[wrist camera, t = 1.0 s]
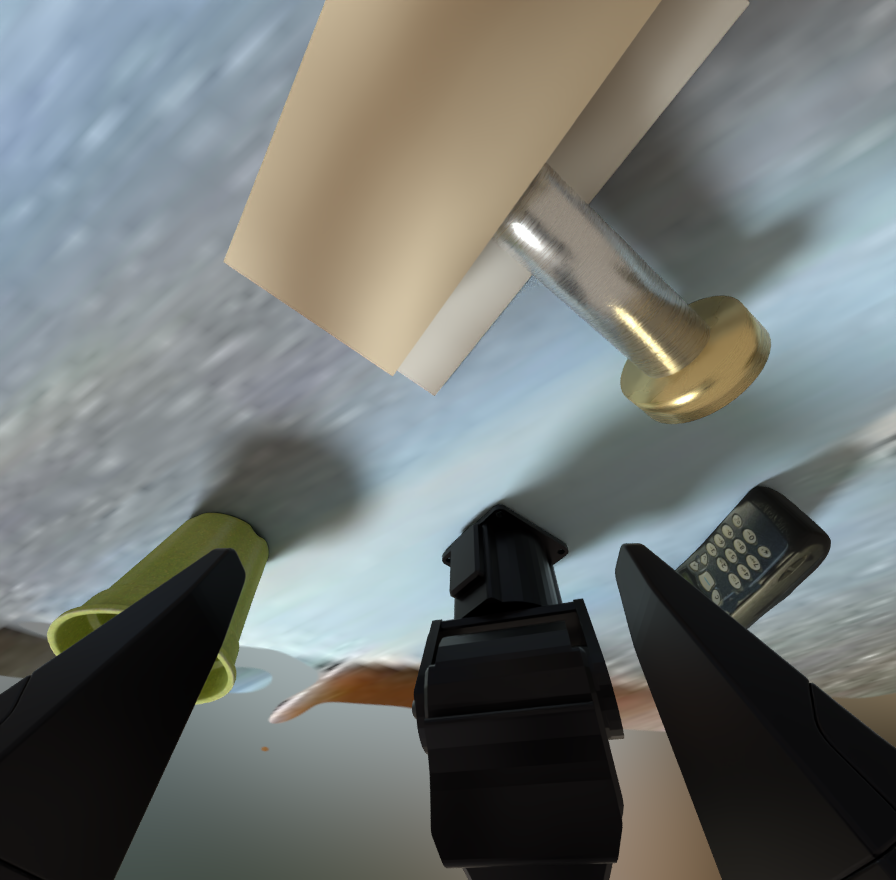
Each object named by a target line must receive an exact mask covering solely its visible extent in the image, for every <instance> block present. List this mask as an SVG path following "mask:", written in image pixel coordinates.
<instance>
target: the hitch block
mask: <svg viewBox="0 0 896 880" xmlns="http://www.w3.org/2000/svg"><path fill="white" fill-rule="evenodd" d="M749 4H750V3H749V2H748V0H326V1H325V3H324V6H323V9H322V11H321V14H320V16H319V19H318V21H317V24H316V27H315V29H314V32H313V34H312V37H311V39H310V42H309V44H308V47H307V50H306V52H305V55H304V57H303V60H302V62H301V65H300V67H299V70H298V73H297V75H296V78H295V80H294V83H293V85H292V88H291V91H290V93H289V96H288V98H287V101H286V103H285V106H284V108H283V111H282V114H281V116H280V119H279V121H278V124H277V126H276V129H275V131H274V134H273V137H272V139H271V142H270V144H269V147H268V149H267V152H266V155H265V157H264V160H263V162H262V165H261V167H260V170H259V172H258V175H257V178H256V180H255V183H254V185H253V188H252V190H251V193H250V195H249V198H248V201H247V203H246V206H245V208H244V211H243V213H242V216H241V219H240V221H239V224H238V226H237V229H236V231H235V234H234V236H233V239H232V242H231V244H230V247H229V249H228V252H227V254H226V257H225V259H224V263H226V264H227V265H229V266H230V267H232V268H233V269H235V270H236V271H238V272H239V273H241V274H242V275H244V276H245V277H247V278H248V279H250V280H251V281H252V282H254V283H255V284H257V285H258V286H260V287H261V288H263V289H264V290H266V291H267V292H269V293H270V294H272V295H273V296H275V297H276V298H278V299H279V300H281V301H282V302H284V303H285V304H287V305H288V306H289V307H291V308H292V309H294V310H295V311H297V312H298V313H300V314H301V315H303V316H304V317H306V318H307V319H309V320H310V321H312V322H313V323H315V324H316V325H318V326H319V327H321V328H322V329H323V330H325V331H326V332H328V333H329V334H331V335H332V336H334V337H335V338H337V339H338V340H340V341H341V342H343V343H344V344H346V345H347V346H349V347H350V348H352V349H353V350H355V351H356V352H357V353H359V354H360V355H362V356H363V357H365V358H366V359H368V360H369V361H371V362H372V363H374V364H375V365H377V366H378V367H380V368H381V369H383V370H384V371H386V372H387V373H389V374H390V375H392V376H393V375H394V374H395V372H396V371H399V372H400V373H402V374H403V375H405V376H406V377H407V378H409V379H410V380H412V381H413V382H415V383H416V384H418V385H419V386H421V387H422V388H424V389H425V390H426V391H428V392H429V393H431V394H432V395H434V396H435V395H436V394H437V392H438V391H439V390H440V389H441V387H442V386H443V385H444V384H445V382H446V381H447V380H448V379H449V377H450V376H451V375H452V374H453V372H454V371H455V370H456V369H457V367H458V366H459V365H460V364H461V362H462V361H463V360H464V359H465V358H466V356H467V355H468V354H469V353H470V351H471V350H472V349H473V348H474V346H475V345H476V344H477V343H478V341H479V340H480V339H481V338H482V336H483V335H484V334H485V333H486V331H487V330H488V329H489V328H490V326H491V325H492V324H493V323H494V321H495V320H496V319H497V318H498V316H499V315H500V314H501V313H502V311H503V310H504V309H505V308H506V306H507V305H508V304H509V303H510V301H511V300H512V299H513V298H514V296H515V295H516V294H517V293H518V292H519V290H520V289H521V288H522V287H523V285H524V284H525V283H526V282H527V280H528V279H529V278H530V277H531V275H532V274H531V273H530V272H528V271H527V270H526V269H525V268H524V267H523V266H522V265H520V264H519V263H518V262H517V261H516V260H515V259H514V258H512V257H511V256H510V255H509V254H508V253H507V252H506V251H504V250H503V249H502V248H501V247H500V246H499V245H498V244H496V243H495V242H494V241H493V240H492V239H491V238H492V237H493V235H494V234H495V232H496V231H497V230H498V228H499V227H500V225H501V224H502V223H503V221H504V220H505V219H506V217H507V216H508V214H509V213H510V212H511V210H512V209H513V207H514V206H515V205H516V203H517V202H518V200H519V199H520V198H521V196H522V195H523V193H524V192H525V191H526V189H527V188H528V186H529V185H530V184H531V182H532V181H533V179H534V178H535V177H536V175H537V174H538V172H539V171H540V170H541V168H542V167H543V165H544V164H545V163H547V164H548V165H549V166H550V167H551V168H552V169H553V170H554V171H555V172H556V173H557V174H558V175H559V176H560V177H561V178H562V179H563V180H564V181H565V182H566V183H567V184H568V185H569V186H570V187H571V188H572V189H573V190H574V191H575V192H576V193H577V194H578V195H579V196H580V197H581V198H582V199H583V200H584V201H585V202H586V203H587V204H589V203H590V202H591V201H592V199H593V198H594V197H595V196H596V194H597V193H598V192H599V191H600V189H601V188H602V187H603V186H604V184H605V183H606V182H607V181H608V179H609V178H610V177H611V176H612V174H613V173H614V172H615V171H616V169H617V168H618V167H619V166H620V165H621V163H622V162H623V161H624V160H625V158H626V157H627V156H628V155H629V153H630V152H631V151H632V150H633V148H634V147H635V146H636V145H637V143H638V142H639V141H640V140H641V138H642V137H643V136H644V135H645V133H646V132H647V131H648V130H649V128H650V127H651V126H652V125H653V123H654V122H655V121H656V120H657V118H658V117H659V116H660V115H661V113H662V112H663V111H664V110H665V108H666V107H667V106H668V105H669V103H670V102H671V101H672V100H673V99H674V97H675V96H676V95H677V94H678V92H679V91H680V90H681V89H682V87H683V86H684V85H685V84H686V82H687V81H688V80H689V79H690V77H691V76H692V75H693V74H694V72H695V71H696V70H697V69H698V67H699V66H700V65H701V64H702V62H703V61H704V60H705V59H706V57H707V56H708V55H709V54H710V52H711V51H712V50H713V49H714V47H715V46H716V45H717V44H718V42H719V41H720V40H721V39H722V38H723V36H724V35H725V34H726V33H727V31H728V30H729V29H730V28H731V26H732V25H733V24H734V23H735V21H736V20H737V19H738V18H739V16H740V15H741V14H742V13H743V11H744V10H745V9H746V8H747V6H748V5H749Z"/></svg>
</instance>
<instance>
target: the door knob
mask: <svg viewBox="0 0 896 880" xmlns="http://www.w3.org/2000/svg"><path fill="white" fill-rule="evenodd" d="M491 239H492V240H493V241H494V242H495V243H496V244H498V245H499V246H500V247H501V248H502V249H503V250H504V251H506V252H507V253H508V254H509V255H510V256H511V257H512V258H514V259H515V260H516V261H517V262H518V263H519V264H520V265H522V266H523V267H524V268H525V269H526V270H527V271H528V272H530V273H531V274H532V275H533V276H534V277H535V278H536V279H538V280H539V281H540V282H541V283H542V284H543V285H544V286H546V287H547V288H548V289H549V290H550V291H551V292H552V293H554V294H555V295H556V296H557V297H558V298H559V299H560V300H562V301H563V302H564V303H565V304H566V305H567V306H568V307H570V308H571V309H572V310H573V311H574V312H575V313H576V314H578V315H579V316H580V317H581V318H582V319H583V320H584V321H586V322H587V323H588V324H589V325H590V326H591V327H592V328H594V329H595V330H596V331H597V332H598V333H599V334H600V335H602V336H603V337H604V338H605V339H606V340H607V341H608V342H610V343H611V344H612V345H613V346H614V347H615V348H616V349H618V350H619V351H620V352H621V353H622V354H623V355H624V356H626V357H627V358H628V359H627V361H626V363H625V365H624V368H623V371H622V374H621V381H620V384H621V389H622V392H623V394H624V395H625V396H626V397H627V398H628V399H629V400H630V401H632V402H633V403H634V404H635V405H636V406H638V407H639V408H640V409H641V410H642V411H644V412H645V413H646V414H647V415H648V416H650V417H651V418H652V419H654V420H656V421H658V422H661V423H666V424H679V423H686V422H690V421H694V420H697V419H700V418H702V417H705V416H707V415H710V414H712V413H714V412H716V411H718V410H719V409H721V408H723V407H724V406H726V405H727V404H729V403H730V402H732V401H733V400H734V399H736V398H737V397H738V396H739V395H740V394H742V393H743V392H744V391H745V390H746V389H747V388H748V387H749V386H750V385H751V384H752V383H753V381H754V380H755V379H756V378H757V377H758V375H759V374H760V372H761V371H762V369H763V368H764V366H765V364H766V362H767V359H768V356H769V354H770V348H771V339H770V336H769V333H768V332H767V330H766V329H765V328H764V327H763V326H762V325H761V323H760V322H759V321H758V320H757V319H756V318H755V317H754V316H753V315H752V314H751V313H750V312H749V311H748V309H747V308H746V307H745V306H744V305H743V304H742V303H741V302H740V301H739V300H737V299H735V298H733V297H730V296H713V297H708V298H704V299H701V300H698V301H695V302H693V303H691V304H687V303H686V302H685V301H684V300H683V299H682V298H681V297H680V296H679V295H678V294H677V293H676V292H675V291H674V290H673V289H672V288H671V287H670V286H669V285H668V284H667V283H666V282H665V281H664V280H663V279H662V278H661V277H660V276H659V275H658V274H657V273H656V272H655V271H654V270H653V269H652V268H651V267H650V266H649V265H648V264H647V263H646V262H645V261H644V260H643V259H642V258H641V257H640V256H639V255H638V254H637V253H636V252H635V251H634V250H633V249H632V248H631V247H630V246H629V245H628V244H627V243H626V242H625V241H624V240H623V239H622V238H621V237H620V236H619V235H618V234H617V233H616V232H615V231H614V230H613V229H612V228H611V227H610V226H609V225H608V224H607V223H606V222H605V221H604V220H603V219H602V218H601V217H600V216H599V215H598V214H597V213H596V212H595V211H594V210H593V209H592V208H591V207H590V206H589V205H588V204H587V203H586V202H585V201H584V200H583V199H582V198H581V197H580V196H579V195H578V194H577V193H576V192H575V191H574V190H573V189H572V188H571V187H570V186H569V185H568V184H567V183H566V182H565V181H564V180H563V179H562V178H561V177H560V176H559V175H558V174H557V173H556V172H555V171H554V170H553V169H552V168H551V167H550V166H549V165H548V164H547V163H545V164H544V165H543V167H542V168H541V170H540V171H539V172H538V174H537V175H536V177H535V178H534V179H533V181H532V182H531V184H530V185H529V186H528V188H527V189H526V191H525V192H524V193H523V195H522V196H521V198H520V199H519V200H518V202H517V203H516V205H515V206H514V207H513V209H512V210H511V212H510V213H509V214H508V216H507V217H506V219H505V220H504V221H503V223H502V224H501V225H500V227H499V228H498V230H497V231H496V232H495V234H494V235H493V237H492V238H491Z"/></svg>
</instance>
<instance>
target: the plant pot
mask: <svg viewBox="0 0 896 880" xmlns="http://www.w3.org/2000/svg"><path fill="white" fill-rule="evenodd" d="M216 548H233V549H234V550H235V551H236V552H237V554H238V556H239V558H240V561H241V563H242V565H243V567H244V569H245V573H246V579H245V583H244V586H243V589H242V591H241V594H240V597H239V600H238V603H237V606H236V609H235V611H234V614H233V617H232V620H231V623H230V626H229V628H228V631H227V634H226V637H225V639H224V642H223V645H222V647H221V649H220V651H219V654H218V656H217V658H216V660H215V662H214V665H213V667H212V669H211V671H210V673H209V675H208V678H207V680H206V682H205V684H204V686H203V688H202V691H201V693H200V695H199V697H198V699H197V701H196V704H202V703H208V702H212V701H215V700H218V699H220V698H222V697H223V696H225V695H226V694H227V693H229V691H230V690H231V689H232V687H233V685H234V683H235V680H236V668H235V661H236V658H237V655H238V652H239V639H240V636H241V633H242V630H243V627H244V624H245V621H246V618H247V615H248V612H249V609H250V606H251V603H252V600H253V598H254V595H255V592H256V589H257V586H258V584H259V581H260V578H261V576H262V573H263V570H264V567H265V565H266V562H267V559H268V556H269V550H268V546H267V543H266V541H265V540H264V539H263V538H261V537H259V536H258V535H257V534H256V533H255V532H254V531H253V529H252V528H251V526H250V525H249V524H248V523H246V522H244V521H242V520H240V519H238V518H235V517H232V516H229V515H225V514H219V513H204V514H201V515H199V516H197V517H194V518H192V519H189V520H187V521H186V522H185V523H184V524H183V525H181V526H180V527H179V528H178V529H177V530H176V531H175V532H173V533H172V534H171V535H170V536H169V537H168V538H167V539H165V540H164V541H163V542H162V543H161V544H160V545H159V546H157V547H156V548H155V549H154V550H153V551H152V552H151V553H149V554H148V555H147V556H146V557H145V558H144V559H142V560H141V561H140V562H139V563H138V564H137V565H135V566H134V567H133V568H132V569H131V570H130V571H129V572H127V573H126V574H125V575H124V576H123V577H122V578H120V579H119V580H118V581H117V582H116V583H115V584H113V585H112V586H111V587H110V588H109V589H107V590H104V591H102V592H100V593H98V594H96V595H95V596H93V597H92V598H91V599H90V600H88V601H87V602H86V603H85V604H83V605H82V606H81V607H77V608H73V609H71V610H68V611H66V612H64V613H63V614H61V615H60V616H59V617H58V618H57V619H56V620H54V621H53V622H52V624H51V625H50V627H49V629H48V633H47V637H48V642H49V643H50V647H51V649H52V650H53V652H54V654H55V655H56V656H57V655H59V654H60V653H62V652H63V651H65V650H66V649H68V648H69V647H71V646H72V645H74V644H75V643H77V642H78V641H79V640H81V639H82V638H84V637H85V636H87V635H88V634H90V633H91V632H93V631H94V630H96V629H97V628H99V627H100V626H102V625H103V624H104V623H106V622H107V621H109V620H110V619H112V618H113V617H115V616H116V615H118V614H119V613H121V612H122V611H124V610H125V609H127V608H128V607H129V606H131V605H132V604H134V603H135V602H137V601H138V600H140V599H141V598H143V597H144V596H146V595H147V594H149V593H150V592H152V591H153V590H154V589H156V588H157V587H159V586H160V585H162V584H163V583H165V582H166V581H168V580H169V579H171V578H172V577H174V576H175V575H176V574H178V573H179V572H181V571H182V570H184V569H185V568H187V567H188V566H190V565H191V564H193V563H194V562H196V561H197V560H199V559H200V558H201V557H203V556H204V555H206V554H207V553H209V552H210V551H212V550H213V549H216Z"/></svg>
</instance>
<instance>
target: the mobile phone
mask: <svg viewBox="0 0 896 880" xmlns="http://www.w3.org/2000/svg"><path fill="white" fill-rule="evenodd" d="M830 547H831V540H830V538H829V536H828V535H827V534H826V533H825V532H824V531H823V530H822V529H821V528H820V527H819V526H818V525H817V524H816V523H815V522H814V521H813V520H812V519H810V518H809V517H808V516H807V515H806V514H805V513H804V512H802V511H801V510H800V509H799V508H798V507H797V506H796V505H794V504H793V503H792V502H791V501H790V500H789V499H787V498H786V497H785V496H783V495H782V494H781V493H779V492H777V491H775V490H773V489H770V488H767V487H760V486H758V487H756V488H754V489H753V490H752V491H750V492H749V493H748V494H747V495H746V496H745V497H744V498H743V499H742V500H741V502H740V503H739V504H738V505H737V506H736V507H735V508H734V509H733V511H732V512H731V513H730V514H729V515H728V516H727V517H726V518H725V519H724V521H723V522H722V523H721V524H720V525H719V526H718V527H717V528H716V529H715V531H714V532H713V533H712V534H711V535H710V536H709V537H708V538H707V539H706V541H705V542H704V543H703V544H702V545H701V546H700V547H699V548H698V549H697V550H696V551H695V552H694V553H693V554H692V555H691V556H690V557H689V558H688V559H687V560H686V561H685V562H684V563H683V564H681V565H680V566H679V567H678V568H677V569H676V570H675V571H676V572H677V573H679V574H680V575H681V576H682V577H684V578H685V579H686V580H687V581H689V582H690V583H691V584H692V585H693V586H695V587H696V588H697V589H698V590H700V591H701V592H702V593H703V594H704V595H706V596H707V597H708V598H709V599H711V600H712V601H713V602H714V603H716V604H717V605H718V606H719V607H720V608H722V609H723V610H724V611H725V612H727V613H728V614H729V615H730V616H731V617H733V618H734V619H735V620H736V621H738V622H739V623H740V624H741V625H742V626H744V627H745V628H746V629H748V628H749V627H750V626H751V625H752V624H753V623H755V622H756V621H757V620H758V619H759V618H760V617H762V616H763V615H764V614H765V613H767V612H768V611H769V610H770V609H772V608H773V607H774V606H775V605H777V604H778V603H780V602H781V601H782V600H784V599H785V598H786V597H787V596H789V595H790V594H791V593H792V592H793V590H794V589H795V588H796V587H797V586H799V585H800V584H801V583H802V582H803V581H804V580H805V579H806V578H807V577H808V576H809V575H810V574H811V573H813V572H814V571H815V570H816V569H817V568H818V567H819V565H820V564H821V563H822V562H823V561H824V559H825V558H826V556H827V555H828V553H829V550H830Z"/></svg>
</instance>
